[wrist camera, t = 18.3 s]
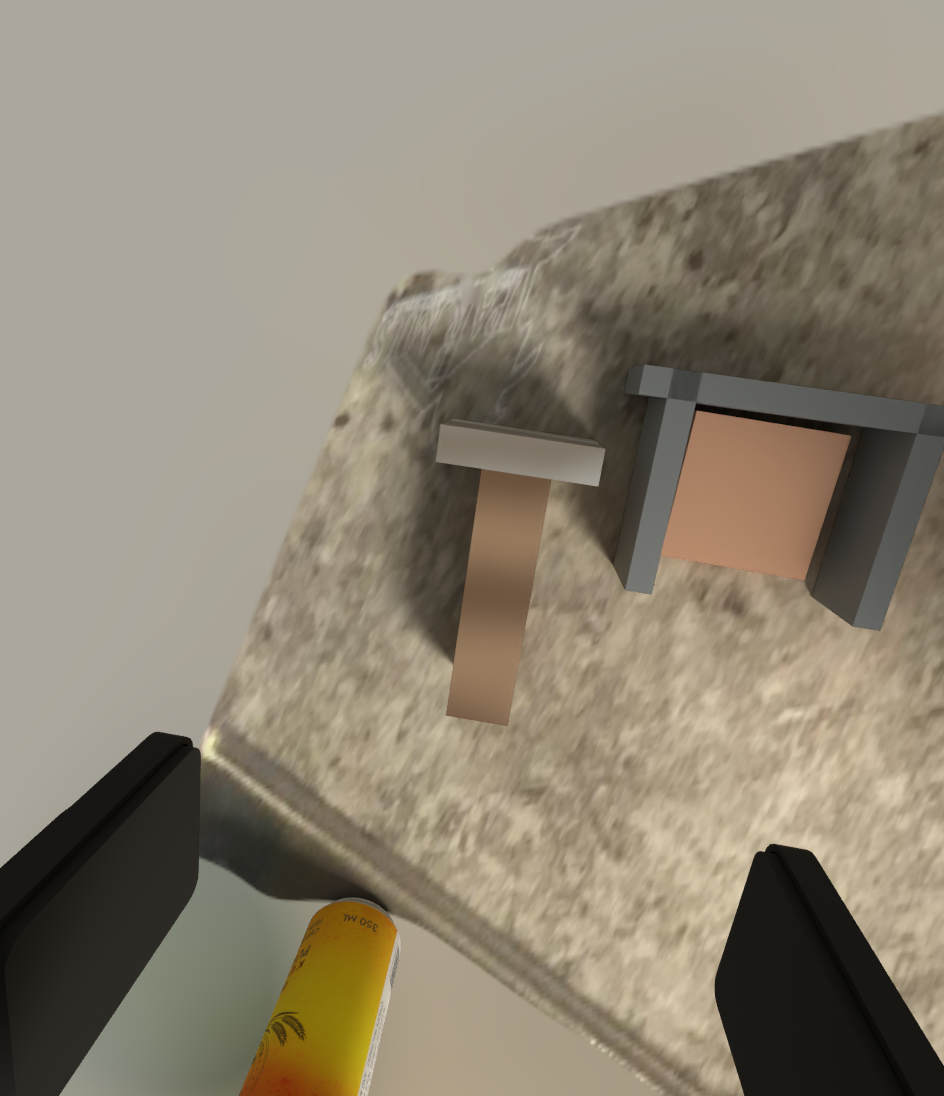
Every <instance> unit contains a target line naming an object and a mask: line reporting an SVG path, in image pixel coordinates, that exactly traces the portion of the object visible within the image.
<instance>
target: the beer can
mask: <svg viewBox="0 0 944 1096" xmlns="http://www.w3.org/2000/svg"><path fill="white" fill-rule="evenodd" d="M400 950H401V940H400V936H399V933H398V930H397V929H396V927H395V925H394V923H393V921H392V919H391V917H390V916H389V914H388V913H387V912H386V911H385V910H384V909H383V908H381V907H380V906H379V905H377V904H375V903H373V902H371V901H369V900H366V899H362V898H354V897H351V898H343V899H339V900H337V901H335V902H333V903H331V904H329V905H327V906H325V907H323V908H322V909H320V910H319V911H318V912H317V913H316V914H315V915H314V916H313V918H312V919H311V921H310V923H309V926H308V928H307V931H306V934H305V936H304V938H303V940H302V943H301V945H300V948H299V950H298V953H297V955H296V958H295V960H294V962H293V965H292V967H291V970H290V972H289V975H288V977H287V980H286V982H285V985H284V987H283V989H282V992H281V994H280V997H279V999H278V1002H277V1004H276V1007H275V1009H274V1011H273V1014H272V1016H271V1019H270V1021H269V1024H268V1026H267V1028H266V1031H265V1034H264V1036H263V1038H262V1041H261V1043H260V1046H259V1048H258V1050H257V1053H256V1055H255V1058H254V1060H253V1063H252V1065H251V1068H250V1070H249V1072H248V1075H247V1077H246V1080H245V1082H244V1085H243V1087H242V1090H241V1092H240V1094H239V1096H368V1092H369V1087H370V1083H371V1078H372V1074H373V1070H374V1065H375V1060H376V1056H377V1052H378V1048H379V1043H380V1039H381V1034H382V1030H383V1026H384V1021H385V1016H386V1012H387V1008H388V1003H389V999H390V994H391V990H392V986H393V981H394V977H395V973H396V968H397V964H398V960H399V955H400Z"/></svg>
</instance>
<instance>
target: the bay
mask: <svg viewBox="0 0 944 1096" xmlns="http://www.w3.org/2000/svg"><path fill="white" fill-rule="evenodd" d="M624 394H631V395H638V396H645V397H649V398H648V402H647V407H646V412H645V417H644V421H643V426H642V431H641V436H640V440H639V445H638V450H637V454H636V459H635V464H634V469H633V473H632V478H631V483H630V488H629V492H628V497H627V502H626V507H625V511H624V516H623V521H622V526H621V530H620V535H619V540H618V545H617V549H616V554H615V559H614V564H613V566H614V568H615V570H616V572H617V575H618V577H619V579H620V581H621V583H622V585H623V587H624V589H625V590H626V591H633V592H639V593H645V594H652V590H653V586H654V582H655V577H656V573H657V569H658V564H659V560H660V556H661V551H662V547H663V543H664V538H665V534H666V530H667V526H668V521H669V517H670V513H671V508H672V504H673V500H674V495H675V491H676V487H677V482H678V478H679V474H680V470H681V465H682V461H683V457H684V452H685V448H686V444H687V439H688V435H689V431H690V426H691V422H692V418H693V414H694V409H695V405H696V404H701V405H708V406H715V407H722V408H729V409H736V410H743V411H750V412H757V413H764V414H772V415H779V416H786V417H793V418H800V419H807V420H814V421H821V422H828V423H835V424H842V425H849V426H856V427H863V428H864V429H863V432H862V436H861V439H860V442H859V445H858V449H857V452H856V455H855V458H854V462H853V465H852V468H851V471H850V475H849V478H848V481H847V484H846V487H845V491H844V494H843V497H842V500H841V504H840V507H839V510H838V513H837V517H836V520H835V523H834V526H833V529H832V533H831V536H830V539H829V542H828V546H827V549H826V552H825V555H824V559H823V562H822V565H821V568H820V572H819V575H818V578H817V581H816V584H815V588H814V591H813V594H812V597H813V598H814V599H816V600H817V601H818V602H820V603H821V604H822V605H824V606H825V607H827V608H828V609H829V610H831V611H832V612H833V613H835V614H836V615H838V616H839V617H840V618H842V619H843V620H844V621H846V622H847V623H849V624H850V625H851V626H853V627H859V628H865V629H872V630H878V631H880V630H881V627H882V624H883V621H884V618H885V615H886V612H887V610H888V607H889V604H890V601H891V598H892V595H893V592H894V589H895V587H896V584H897V581H898V578H899V575H900V572H901V569H902V566H903V564H904V561H905V558H906V555H907V552H908V549H909V546H910V543H911V541H912V538H913V535H914V532H915V529H916V526H917V523H918V520H919V518H920V515H921V512H922V509H923V506H924V503H925V500H926V497H927V495H928V492H929V489H930V486H931V483H932V480H933V477H934V474H935V472H936V469H937V466H938V463H939V460H940V457H941V454H942V451H943V449H944V406H940V405H933V404H925V403H918V402H911V401H904V400H897V399H890V398H882V397H875V396H868V395H861V394H854V393H846V392H839V391H832V390H825V389H818V388H811V387H803V386H796V385H789V384H782V383H775V382H768V381H760V380H753V379H746V378H739V377H732V376H724V375H717V374H710V373H703V372H696V371H689V370H681V369H674V368H667V367H660V366H653V365H645V364H644V365H640V366H635V367H631V368H629V370H628V375H627V380H626V385H625V390H624Z"/></svg>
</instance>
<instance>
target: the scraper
mask: <svg viewBox="0 0 944 1096" xmlns="http://www.w3.org/2000/svg"><path fill="white" fill-rule="evenodd" d="M605 450H606V449H605V448H604V447H603V446H601V445H600V444H599V443H597V442H596V441H595V440H593V439H588V438H581V437H574V436H567V435H561V434H554V433H547V432H540V431H534V430H527V429H520V428H513V427H507V426H500V425H493V424H486V423H480V422H473V421H466V420H460V419H452V420H450V421H447V422H445V423H442V424H440V430H439V438H438V447H437V455H436V462H440V463H447V464H453V465H460V466H467V467H473V468H480V469H482V470H481V477H480V484H479V490H478V497H477V504H476V511H475V518H474V525H473V532H472V539H471V546H470V553H469V560H468V567H467V574H466V581H465V588H464V594H463V601H462V608H461V615H460V622H459V629H458V636H457V643H456V650H455V657H454V664H453V671H452V678H451V685H450V692H449V698H448V705H447V712H446V716H452V717H458V718H463V719H469V720H475V721H481V722H486V723H492V724H498V725H504V726H508V722H509V716H510V710H511V705H512V699H513V693H514V688H515V682H516V676H517V671H518V665H519V659H520V654H521V648H522V642H523V637H524V631H525V625H526V620H527V614H528V608H529V603H530V597H531V591H532V586H533V580H534V574H535V569H536V563H537V558H538V552H539V546H540V541H541V535H542V529H543V524H544V518H545V512H546V507H547V501H548V495H549V490H550V484H551V479H552V480H559V481H565V482H572V483H578V484H585V485H591V486H598V485H599V480H600V475H601V470H602V465H603V460H604V455H605Z"/></svg>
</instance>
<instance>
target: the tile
mask: <svg viewBox="0 0 944 1096" xmlns="http://www.w3.org/2000/svg"><path fill="white" fill-rule="evenodd" d="M850 439H851V436H850V435H844V434H838V433H831V432H825V431H819V430H813V429H807V428H801V427H794V426H788V425H782V424H776V423H770V422H764V421H757V420H751V419H745V418H739V417H733V416H727V415H720V414H714V413H708V412H702V411H696V410H694V414H693V418H692V422H691V426H690V431H689V435H688V439H687V444H686V448H685V452H684V457H683V461H682V465H681V470H680V474H679V478H678V482H677V487H676V491H675V495H674V500H673V504H672V508H671V513H670V517H669V521H668V526H667V530H666V534H665V538H664V543H663V547H662V551H661V555H662V556H668V557H673V558H679V559H685V560H691V561H696V562H702V563H708V564H713V565H719V566H725V567H731V568H736V569H742V570H748V571H754V572H759V573H765V574H771V575H777V576H782V577H788V578H794V579H799V580H805V577H806V574H807V571H808V568H809V565H810V562H811V559H812V556H813V553H814V550H815V547H816V544H817V541H818V538H819V534H820V531H821V528H822V525H823V522H824V519H825V516H826V513H827V510H828V507H829V504H830V501H831V498H832V495H833V492H834V488H835V485H836V482H837V479H838V476H839V473H840V470H841V467H842V464H843V461H844V458H845V455H846V452H847V449H848V446H849V442H850Z"/></svg>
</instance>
